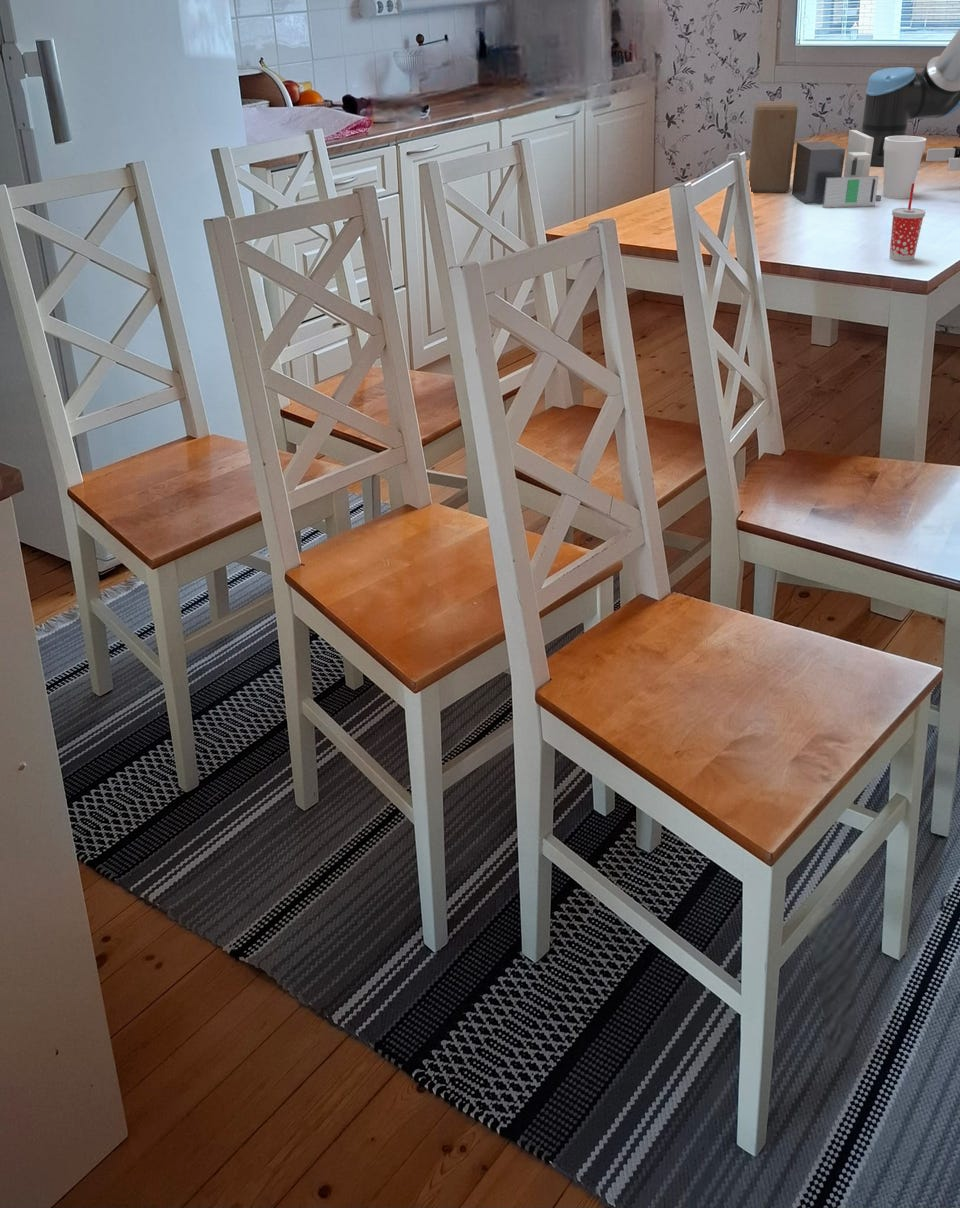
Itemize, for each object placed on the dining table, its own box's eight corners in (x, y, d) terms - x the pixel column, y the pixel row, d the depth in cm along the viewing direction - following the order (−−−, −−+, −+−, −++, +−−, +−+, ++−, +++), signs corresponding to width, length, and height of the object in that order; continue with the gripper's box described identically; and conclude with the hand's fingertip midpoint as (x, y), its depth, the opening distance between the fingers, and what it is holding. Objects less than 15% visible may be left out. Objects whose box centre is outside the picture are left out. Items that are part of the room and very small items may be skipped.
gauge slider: (848, 186, 287) (855, 129, 280) (871, 200, 272) (879, 140, 266) (826, 187, 287) (833, 130, 280) (848, 201, 272) (855, 141, 266)
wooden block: (789, 193, 288) (798, 105, 278) (747, 192, 290) (755, 105, 280) (787, 185, 296) (796, 100, 286) (747, 185, 298) (755, 100, 288)
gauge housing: (866, 192, 287) (873, 140, 281) (889, 205, 273) (898, 151, 267) (791, 194, 287) (797, 142, 281) (811, 208, 272) (817, 153, 266)
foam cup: (888, 190, 288) (897, 134, 282) (924, 195, 282) (933, 138, 276) (869, 196, 282) (877, 139, 276) (905, 201, 277) (914, 143, 270)
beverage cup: (909, 263, 226) (921, 187, 219) (879, 258, 230) (890, 184, 223) (923, 257, 230) (935, 182, 223) (893, 252, 234) (904, 179, 227)
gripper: (1046, 183, 270) (955, 185, 269) (1000, 164, 292) (916, 167, 291) (1053, 148, 266) (961, 151, 266) (1006, 132, 288) (921, 135, 287)
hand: (937, 159), depth 278 cm, fingers open, 13 cm apart
